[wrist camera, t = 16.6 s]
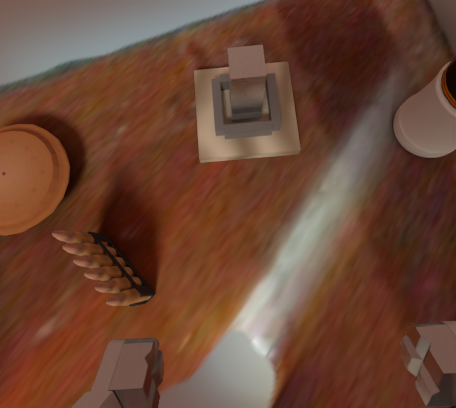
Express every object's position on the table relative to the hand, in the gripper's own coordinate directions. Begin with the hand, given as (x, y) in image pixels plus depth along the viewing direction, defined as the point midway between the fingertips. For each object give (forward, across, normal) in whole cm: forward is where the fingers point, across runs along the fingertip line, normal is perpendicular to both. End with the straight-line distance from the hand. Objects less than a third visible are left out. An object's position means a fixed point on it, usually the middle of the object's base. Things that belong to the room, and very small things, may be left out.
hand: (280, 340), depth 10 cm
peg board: (+39, -1, +4) cm, 39 cm away
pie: (+33, +31, +10) cm, 47 cm away
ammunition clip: (+24, +17, +19) cm, 35 cm away
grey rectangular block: (+38, -1, +2) cm, 38 cm away
